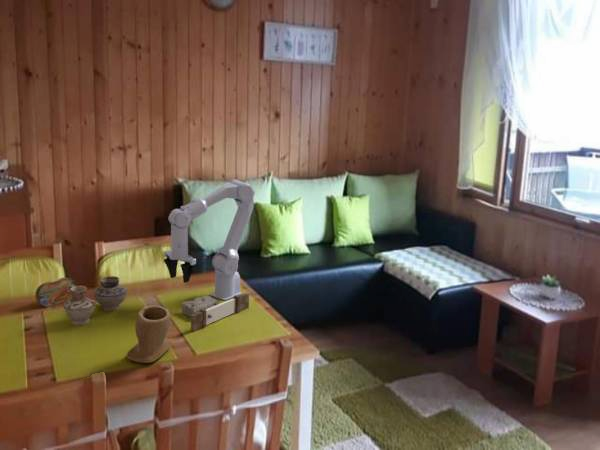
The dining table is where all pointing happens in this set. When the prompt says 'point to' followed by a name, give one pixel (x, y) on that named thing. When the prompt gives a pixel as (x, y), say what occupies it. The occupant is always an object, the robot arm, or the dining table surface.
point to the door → (220, 311)
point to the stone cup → (151, 334)
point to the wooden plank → (200, 317)
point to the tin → (55, 291)
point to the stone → (198, 305)
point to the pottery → (105, 295)
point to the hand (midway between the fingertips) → (179, 279)
